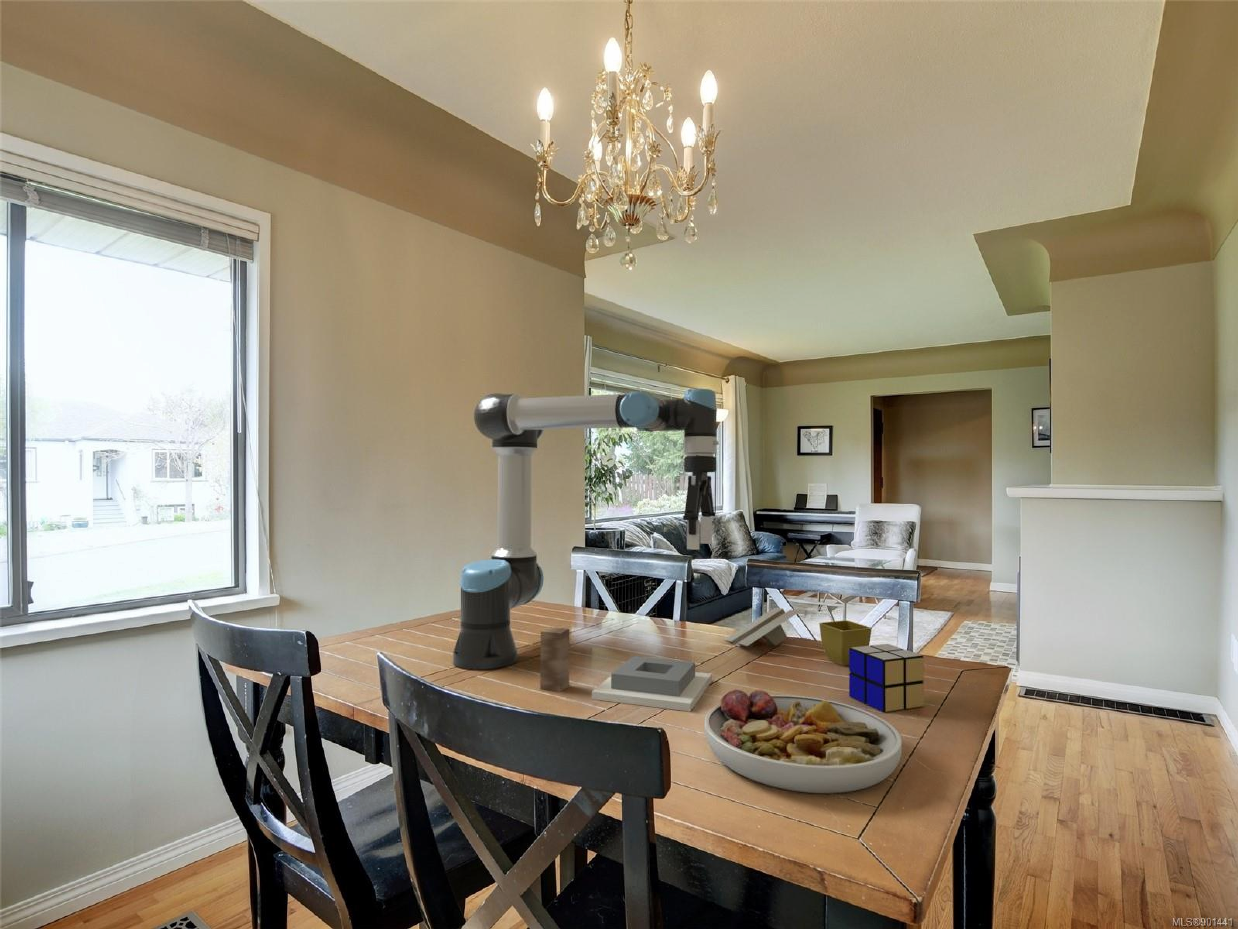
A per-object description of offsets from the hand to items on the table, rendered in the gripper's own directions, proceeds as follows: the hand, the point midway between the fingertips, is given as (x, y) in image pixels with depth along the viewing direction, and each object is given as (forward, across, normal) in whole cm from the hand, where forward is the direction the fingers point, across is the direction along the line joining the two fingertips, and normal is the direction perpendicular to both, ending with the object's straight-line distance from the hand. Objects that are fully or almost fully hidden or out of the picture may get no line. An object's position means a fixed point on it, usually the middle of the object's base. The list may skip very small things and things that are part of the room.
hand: (699, 546), depth 154 cm
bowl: (+28, -42, -26) cm, 57 cm away
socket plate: (+28, -19, +5) cm, 34 cm away
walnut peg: (+28, -25, +25) cm, 45 cm away
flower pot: (+28, +16, -32) cm, 45 cm away
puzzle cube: (+28, -10, -40) cm, 50 cm away
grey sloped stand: (+28, +25, -11) cm, 39 cm away
